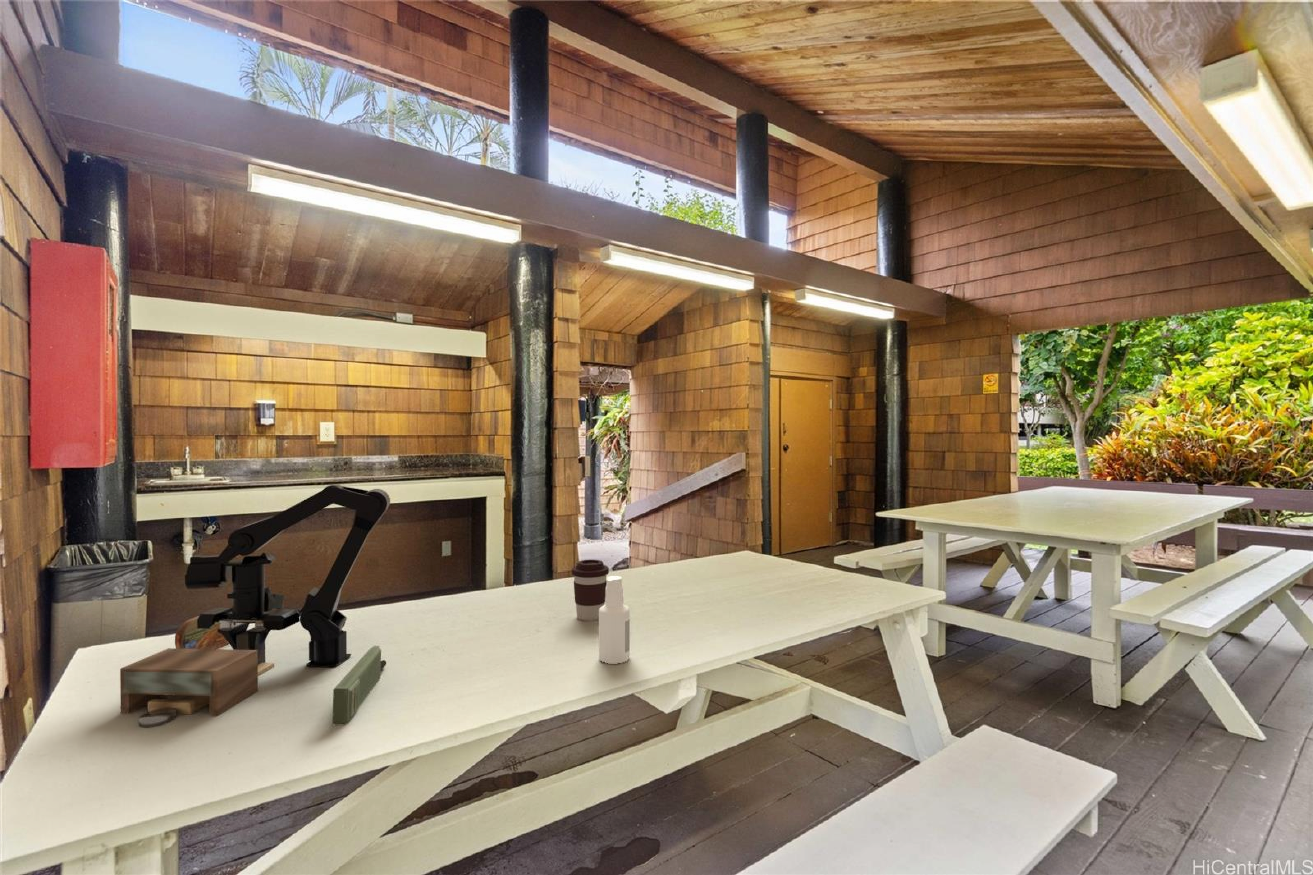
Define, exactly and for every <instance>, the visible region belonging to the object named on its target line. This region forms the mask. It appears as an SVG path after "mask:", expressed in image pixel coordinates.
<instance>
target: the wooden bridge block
mask: <svg viewBox="0 0 1313 875" xmlns="http://www.w3.org/2000/svg"><path fill="white" fill-rule="evenodd" d="M119 669H120V672H119V673H120V674H119V676H120V678H119V680H120V682H119V684H120V685H119V686H120V687H119V688H120V695H119V696H120V714H131V713H132V711H133V712H135V711H137V710H138V709H140V708H142V707H144V706H147V705H148V701H150V700H152V699H158V700H159V699H160V698H163V697H164V696H173V695H193V696H209V704H208V705H209V716H214V717H218V716H220V715H221V714H223V713H225V712H226V711H228V710H230V709H231V708H233V707H235V706H236V705H238V704H239V703H241V702H242V701H244V700H246V699H247V698H249V697H251V696H253V695H254V694H256V693H257V692H259V682H258V681H259V676H258V650H233V649H227V648H226V649H225V648H223V649H219V648H218V649H178V648H176V647H175V648H173V647H172V648H171V647H170V648H169V647H168V648H165V649H164V650H161V651H159V652H156V653H153V654H152V655H150V656H147V657H145V658H143V659H140V660H138V661H135V662H133V663H131V664H128V665H126V666H123V667H121V668H119ZM134 710H135V711H134ZM130 712H131V713H130Z"/></svg>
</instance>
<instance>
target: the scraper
mask: <svg viewBox="0 0 1313 875" xmlns="http://www.w3.org/2000/svg"><path fill="white" fill-rule="evenodd" d="M254 628H255V626H254V627H252V628H250V629H247V631H245V632H243V633H240V634H238V635H236V650H250V644H249V638H248V631H249V630H252V629H254ZM273 668H275V663H274V662H266V641H265V642H264V645H263V647H262V650H261V653H260V655H259V658H258V677H259V676H260V675H263V674H264V673H266V672H268V671H270V670H271V669H273ZM208 705H209V696H193V695H170V697H168V698H166V699H159V698H158V699H152V700H150V701H148V704H147V712H149V711H152V710H156V709H160V708H175V709H176V715H191V714H194V713H195V712H197V711H199V710H201V709H203V708H204V707H205V706H208Z"/></svg>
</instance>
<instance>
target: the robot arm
mask: <svg viewBox="0 0 1313 875" xmlns="http://www.w3.org/2000/svg"><path fill="white" fill-rule="evenodd" d="M331 505H337V506H341V507H342V508H343V507H344V508H347V509H349V510H350V509H351V510H354V511H355V513H354V518H353V523H352V526H351V529H350V531H349V533H348V534H347V537H346V539H345V541H344V543H343V545H342V546H341V549H340V550H339V552H338V554H337V556H336V559H335V560H334V562H333V564H332V566H331V567H330V570H329V573H328V574H327V577H326V578H325V580H324V582H323V584H322V586H321V587H320V588H317V587H313V588H312V589H311V590H310V591H309V592H308V594H307V596H306V599H305V601H304V605H302V607H301V608H300V609H299V611H298V610H297V609H296V608H295V609H294V608H283V607H284V601H285V597H286V595H285V594H281V593H280V594H278V593H271V588H270V586H266V582H265V580H266V579H265V578H266V576H265V565H270V564H272V563H273V562H275V561H276V560H277V558H276V557H275V556H274V555H273V554H270V552H269V551H268V550H265V551H263V552H262V553H261V554H258V555H257V554H256V555H251V554H254V553H255V552H257V551H258V550H260V549H262V548H263V547H264V546H266V545H267V544H268V543H270V542H271V541H272V540H273V539H275V538H276V537H277V536H278V535H280V534H282V532H284V531H285V530H287V529H288V528H290V527H292V526H294V525H296V524H298V523H299V522H302V521H304V520H305V519H307V518H309V517H310V516H312V515H314V514H317V513H318V512H320V511H322V510H324V509H325V508H327V507H329V506H331ZM390 505H391V498H390V495H389V494H388V493H387V491H385V490H383V489H380V488H373V489H369V490H367V489H362V488H357V487H356V488H355V487H349V486H344V485H340V484H338V483H333V484H331V485H330V484H329V485H327V486H325V487H324V488H323V489H322V490H320V491H319V492H316V493H315V494H313V495H311V496H309V497H307V498H305V499H304V500H302V501H299V502H298V503H295V504H294V505H292V506H290V507H288V508H286V509H285V510H283V511H280V512H278V513H277V514H275V515H272V516H268V517H267V518H263V519H261V520H258V521H255V522H251V523H250V524H247V525H243V526H241V527H239V528H238V529H235V530H234V531H232V532H231V533H230V534H229V537H228V539H227V545H226V547H225V548H224V549H223V550H222V552H220V554H216V555H214V554H213V555H203V554H194V555H192V556H191V557H189V564H188V566H187V569H186V574H185V575H184V584H185V587H186V588H187V590H199V589H201V590H202V589H203V590H204V589H216V588H217V589H218V588H223V587H224V586H225V584H226V583H228V582H230V581H231V592H228V593H226V598H227V599H228V600H229V599H231V607H215V608H213V609H210V610H207V611H204V612H202V613H200V614H199V617H198V616H197V617H198V619H197V628H201V629H209V628H211V627H212V626H213V625H214V624H215V622H220V629H218V630H217V632H218V633H221V634H222V635H223V636H224V638H225V639H226V640H227V641H228V643H229V644H228V645H229V646H230V647H231V649H232V650H236V635H238V634H240V633H243V632H245V631H247V630H249V629H248V628H249V626H250V624H254V627H255V628H254V627H253V628H254V629H252V628H251V629H252V630H249V631H248V638H249V644H250V650H258V658H259V655H260V653H261V650H262V647H263V645H264V642H265V643H266V639H267V637H268V636H269V633H270V632H272V631H283V630H286V629H287V628H289V627H291V626H294V625H295V624H297V623H299V622H300V624H301V627H302V628H303V629H304V630H305V631H308V634H309V636H310V640H309V642H308V661H309V662H307V663H306V664H305V667H309V668H310V667H312V668H313V667H314V668H317V667H320V668H334V667H337V666H338V665H340V664H341V663H343V662H344V661H346V660H347V659H349V658H350V657H351V656H352V654H351V653H348V650H347V648H348V647H347V646H348V645H347V641H348V640H347V633H348V632H347V630H343V628H344V627H345V624H346V621H347V619H348V617H347V616H346V615H344V614H343V613H342V612H341V611H339V610H338V605H339V602H340V598H341V594H342V588H343V587H344V585H345V582H346V580H347V579H348V577H349V574H350V572H352V571H351V570H352V568H353V567H354V564H355V562H356V561H357V558H358V557H359V555H360V553H361V550H362V549H363V547H364V545H365V542H366V540H367V539H368V537H369V534H370V532H371V531H372V530H373V529H374V527H375V526H376V524H377V523H378V522H379V520H380V519H382V517H383V515H384V514H385V512H386V511H387V510H388V508H389V507H390ZM239 556H242V557H243V556H244V557H243V559H240V560H239V559H238V560H234V559H236V558H237V557H239ZM273 609H275V610H276V611H275V610H274V611H273ZM271 611H273V612H271ZM266 612H268V613H266ZM269 612H270V613H269ZM300 613H301V614H300Z"/></svg>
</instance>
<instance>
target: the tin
mask: <svg viewBox="0 0 1313 875" xmlns="http://www.w3.org/2000/svg"><path fill="white" fill-rule="evenodd" d="M198 617H199V616H195V617H192V618H190V619H187V620H186V621H184V622H183V623H181V625H180V626H179V627H178V628H177V631H176V632H175V636H174V644H175V645H174V646H175V648H178V649H219V648H222V647H225V646H228V645H230V644H229V643H228V641H227V640H226V639H225V638H224V636H223V635H222V634H221V633H218V632H217V630H218V629H220V622H215V624H214V625H213V626H212V627H211V628H209V629H201V628H197V619H198Z"/></svg>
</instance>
